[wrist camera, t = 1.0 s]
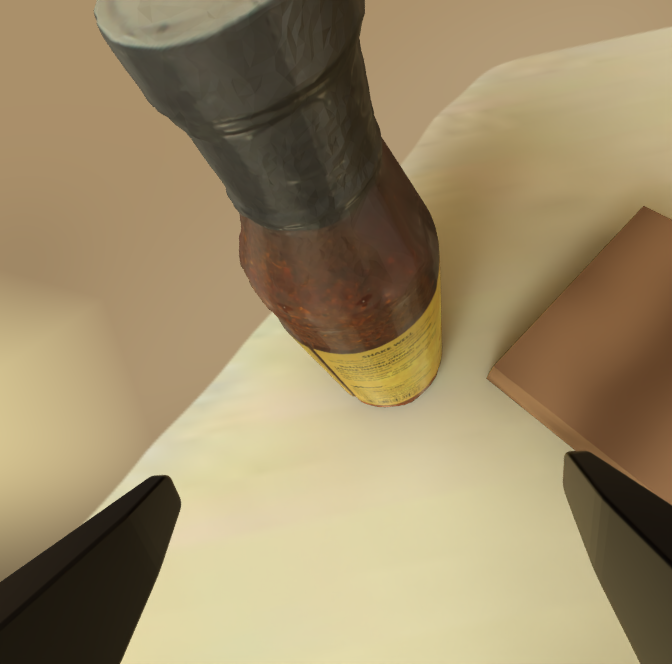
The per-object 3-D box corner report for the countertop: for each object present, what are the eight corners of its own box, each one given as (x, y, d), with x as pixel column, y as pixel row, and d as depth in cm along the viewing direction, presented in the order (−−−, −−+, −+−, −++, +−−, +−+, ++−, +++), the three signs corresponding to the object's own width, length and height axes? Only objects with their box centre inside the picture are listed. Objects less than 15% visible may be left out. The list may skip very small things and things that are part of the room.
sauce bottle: (459, 338, 23) (578, -208, 5) (408, 432, 22) (305, 179, 4) (364, 294, 25) (201, -183, 7) (312, 376, 24) (-41, 53, 6)
